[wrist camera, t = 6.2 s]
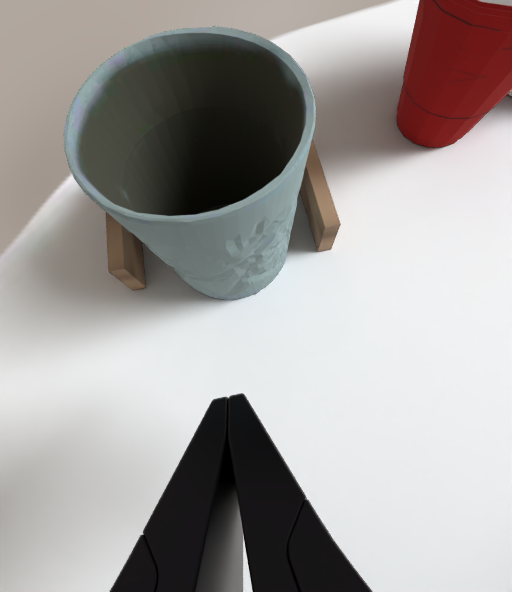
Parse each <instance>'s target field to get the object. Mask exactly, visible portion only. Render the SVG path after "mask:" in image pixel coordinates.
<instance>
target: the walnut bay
mask: <svg viewBox="0 0 512 592" xmlns="http://www.w3.org/2000/svg"><path fill="white" fill-rule="evenodd" d="M300 193H301V196H302V200H303V203H304V206H305V210H306V213H307V217H308V220H309V223H310V227H311V230H312V234H313V237H314V241H315V244H316V247H317V251H318V252H320V251H325V250H330V249H331V248H332V245H333V243H334V240H335V237H336V235H337V232H338V230H339V227H340V221H339V218H338V215H337V212H336V209H335V206H334V203H333V200H332V197H331V194H330V191H329V188H328V185H327V182H326V179H325V176H324V173H323V170H322V167H321V164H320V161H319V158H318V155H317V151H316V148H315V145H314V142H313V139H312V141H311V145H310V149H309V153H308V157H307V161H306V165H305V169H304V175H303V179H302V183H301V187H300ZM106 227H107V247H108V267H109V272H110V273H111V274H112V275H113V276H115V277H116V278H117V279H119V280H120V281H121V282H123V283H124V284H125V285H126V286H128V287H129V288H130V289H132V290H136V289H141V288H146V283H145V271H144V260H143V249H142V241H141V240H140V239H139V238H138V237H136V236H135V235H134V234H133V233H131V232H130V231H128V230H127V229H126V228H125V227H124V226H122V225H121V224H120V223H119V222H118V221H117V220H115V219H114V218H113V217H112V216H111V215H110V214H108V213H107V212H106Z"/></svg>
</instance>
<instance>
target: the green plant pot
mask: <svg viewBox="0 0 512 592" xmlns="http://www.w3.org/2000/svg"><path fill="white" fill-rule="evenodd" d="M315 119H316V105H315V98H314V94H313V91H312V88H311V85H310V83H309V80H308V78H307V76H306V75H305V73H304V72H303V70H302V69H301V67H300V66H299V65H298V64H297V63H296V61H295V60H294V59H293V58H292V57H291V56H290V55H289V54H288V53H286V52H285V51H284V50H282V49H281V48H280V47H278V46H277V45H276V44H274V43H272V42H270V41H268V40H266V39H264V38H262V37H260V36H258V35H256V34H252V33H248V32H244V31H241V30H237V29H233V28H225V27H215V26H213V27H207V28H186V29H177V30H171V31H165V32H162V33H158V34H155V35H152V36H149V37H147V38H145V39H143V40H141V41H139V42H137V43H134V44H132V45H130V46H128V47H126V48H124V49H122V50H121V51H119V52H118V53H116V54H115V55H113V56H112V57H111V58H109V59H108V60H107V61H105V62H104V63H103V64H101V65H100V66H99V67H98V68H97V69H96V70H95V71H94V72H93V73H92V74H91V75H90V76H89V78H88V79H87V80H86V81H85V83H84V84H83V85H82V87H81V88H80V89H79V91H78V93H77V95H76V97H75V98H74V100H73V102H72V104H71V106H70V109H69V112H68V115H67V117H66V124H65V130H64V149H65V153H66V157H67V161H68V164H69V168H70V170H71V172H72V174H73V177H74V179H75V180H76V182H77V183H78V184H79V186H80V187H81V188H82V190H83V191H84V192H85V193H86V194H87V195H88V196H89V197H90V198H91V199H92V200H93V201H95V202H96V203H97V204H98V205H99V206H100V207H101V208H102V209H104V210H105V211H106V212H107V213H108V214H110V215H111V216H112V217H113V218H114V219H115V220H117V221H118V222H119V223H120V224H121V225H122V226H124V227H125V228H126V229H127V230H128V231H130V232H131V233H133V234H134V235H135V236H136V237H138V238H139V239H140V240H141V241H142V242H143V243H144V244H145V245H147V247H148V248H149V249H150V250H151V251H152V252H153V253H154V254H155V255H156V256H158V257H159V258H160V259H161V260H162V261H163V262H164V263H165V264H167V265H169V266H171V267H173V269H174V270H175V272H176V273H177V274H178V275H179V276H180V277H181V278H182V279H183V280H184V281H185V282H187V283H188V284H189V285H190V286H191V287H192V288H194V289H195V290H197V291H198V292H200V293H202V294H205V295H207V296H210V297H213V298H218V299H227V300H235V299H239V298H244V297H248V296H250V295H252V294H257V293H258V292H259V291H260V290H262V289H263V288H265V287H266V286H267V285H268V284H269V283H271V282H272V281H273V279H274V278H275V277H276V276H277V275H278V273H279V272H280V270H281V269H282V267H283V264H284V262H285V259H286V256H287V250H288V244H289V240H290V232H291V230H292V225H293V221H294V215H295V211H296V206H297V197H298V194H299V190H300V187H301V183H302V179H303V175H304V169H305V165H306V161H307V157H308V153H309V149H310V145H311V141H312V137H313V133H314V130H315Z"/></svg>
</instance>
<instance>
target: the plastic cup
mask: <svg viewBox="0 0 512 592" xmlns="http://www.w3.org/2000/svg"><path fill="white" fill-rule="evenodd" d="M403 78H404V82H403V86H402V91H401V95H400V99H399V103H398V107H397V124H398V127H399V129H400V130H401V132H402V133H403V135H404V136H405V137H407V138H408V139H409V140H411V141H412V142H414V143H416V144H419V145H422V146H425V147H444V146H447V145H451V144H454V143H455V142H456V141H457V140H459V139H461V138H462V137H463V136H464V135H465V134H466V133H467V132H469V131H470V130H471V129H472V128H473V127H474V126H475V125H476V124H477V123H478V122H479V121H480V120H481V119H482V118H483V117H484V115H485V114H486V113H488V112H489V111H490V110H491V109H492V108H494V107H495V106H496V105H497V104H498V103H499V102H500V101H501V100H502V99H503V98H504V97H505V96H506V95H507V94H508V93H509V92H510V91H511V90H512V0H420V1H419V6H418V10H417V15H416V20H415V25H414V29H413V34H412V39H411V43H410V48H409V53H408V58H407V62H406V67H405V72H404V76H403Z"/></svg>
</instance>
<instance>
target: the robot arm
mask: <svg viewBox="0 0 512 592" xmlns="http://www.w3.org/2000/svg"><path fill="white" fill-rule="evenodd" d="M143 534H144V535H141V536H140V537H139V539H138V541H137V543H136V545H135V547H134V549H133V551H132V552H131V554H130V556H129V558H128V560H127V562H126V563H125V565H124V567H123V569H122V571H121V572H120V574H119V576H118V578H117V580H116V581H115V583H114V585H113V587H112V588H111V590H110V592H243V535H244V541H245V547H246V553H247V559H248V565H249V571H250V578H251V584H252V590H253V592H372V590H371V589H370V588H369V586H368V585H367V584H366V583H365V581H364V580H363V579H362V577H361V576H360V575H359V574H358V572H357V571H356V570H355V568H354V567H353V566H352V564H351V563H350V562H349V560H348V559H347V558H346V556H345V555H344V553H343V552H342V551H341V549H340V548H339V547H338V545H337V544H336V542H335V541H334V540H333V538H332V537H331V535H330V533H329V532H328V530H327V529H326V527H325V526H324V524H323V523H322V521H321V520H320V518H319V517H318V515H317V513H316V512H315V510H314V508H313V507H312V505H311V503H310V502H309V500H307V498H306V495H305V494H304V492H303V490H302V489H301V487H300V486H299V484H298V482H297V481H296V479H295V477H294V476H293V474H292V472H291V471H290V469H289V467H288V466H287V464H286V462H285V461H284V459H283V457H282V456H281V454H280V452H279V451H278V449H277V448H276V446H275V444H274V443H273V441H272V439H271V438H270V436H269V434H268V433H267V431H266V429H265V428H264V426H263V424H262V423H261V421H260V419H259V418H258V416H257V414H256V413H255V411H254V409H253V408H252V406H251V405H250V403H249V401H248V400H247V398H246V396H245V395H244V394H243V393H241V394H236V395H231V396H230V397H229V398H228V397H222V398H217V399H214V400H213V401H212V402H211V404H210V406H209V408H208V409H207V411H206V413H205V415H204V417H203V419H202V421H201V423H200V425H199V426H198V428H197V430H196V432H195V434H194V436H193V438H192V440H191V442H190V443H189V445H188V447H187V449H186V451H185V453H184V455H183V457H182V459H181V460H180V462H179V464H178V466H177V468H176V470H175V472H174V474H173V475H172V477H171V479H170V481H169V483H168V485H167V487H166V489H165V491H164V492H163V494H162V496H161V498H160V500H159V502H158V504H157V506H156V508H155V509H154V511H153V513H152V515H151V517H150V519H149V521H148V523H147V525H146V526H145V528H144V530H143Z"/></svg>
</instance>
